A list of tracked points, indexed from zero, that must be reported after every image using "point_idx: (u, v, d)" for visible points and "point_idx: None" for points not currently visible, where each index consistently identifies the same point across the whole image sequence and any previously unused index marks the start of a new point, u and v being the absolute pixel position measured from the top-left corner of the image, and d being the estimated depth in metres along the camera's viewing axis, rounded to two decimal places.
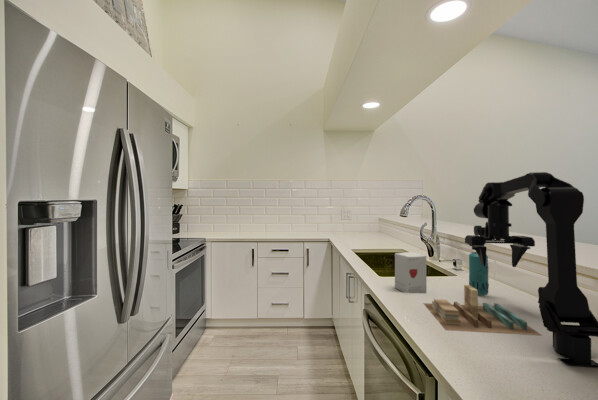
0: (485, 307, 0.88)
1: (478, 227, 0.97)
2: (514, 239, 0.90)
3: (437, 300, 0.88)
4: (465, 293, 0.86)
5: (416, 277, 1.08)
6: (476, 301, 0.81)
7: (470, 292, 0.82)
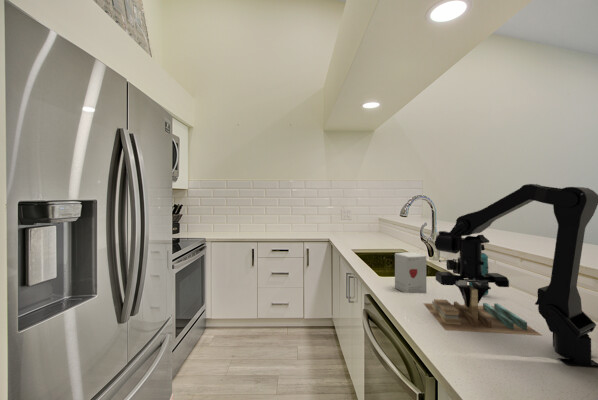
0: (485, 307, 0.88)
1: (450, 262, 0.90)
2: (487, 278, 0.83)
3: (437, 300, 0.88)
4: None
5: (416, 277, 1.08)
6: (476, 301, 0.81)
7: (470, 292, 0.82)
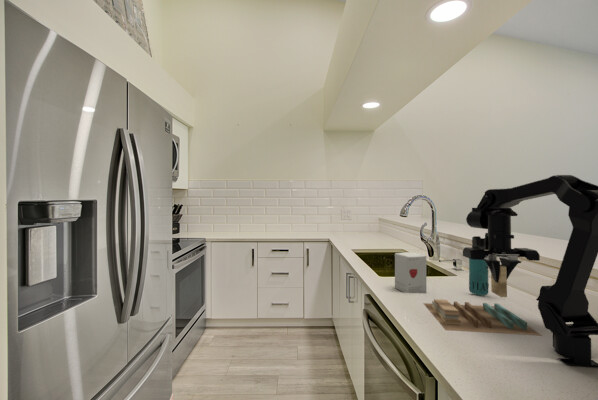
0: (485, 307, 0.88)
1: (477, 238, 0.88)
2: (517, 252, 0.82)
3: (437, 300, 0.88)
4: None
5: (416, 277, 1.08)
6: (505, 278, 0.81)
7: None
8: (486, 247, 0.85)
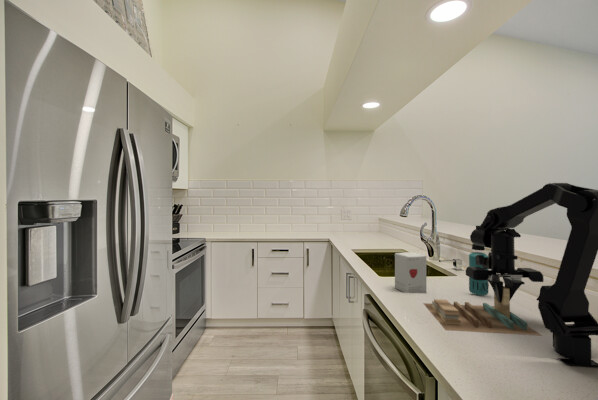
0: (485, 307, 0.88)
1: (480, 257, 0.88)
2: (520, 273, 0.81)
3: (437, 300, 0.88)
4: None
5: (416, 277, 1.08)
6: (508, 300, 0.81)
7: None
8: (489, 267, 0.85)
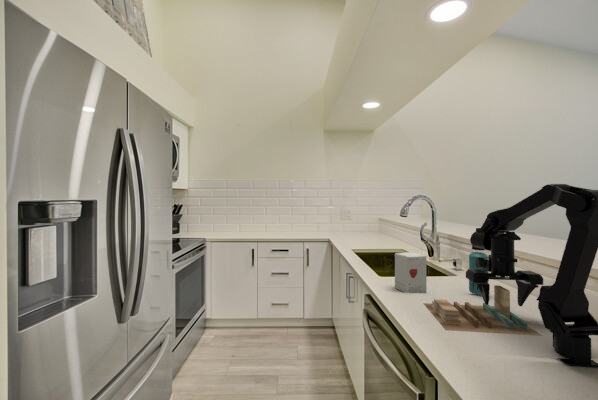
0: (485, 307, 0.88)
1: (480, 259, 0.88)
2: (520, 275, 0.81)
3: (437, 300, 0.88)
4: (495, 294, 0.85)
5: (416, 277, 1.08)
6: (508, 302, 0.81)
7: (502, 293, 0.82)
8: (489, 269, 0.85)
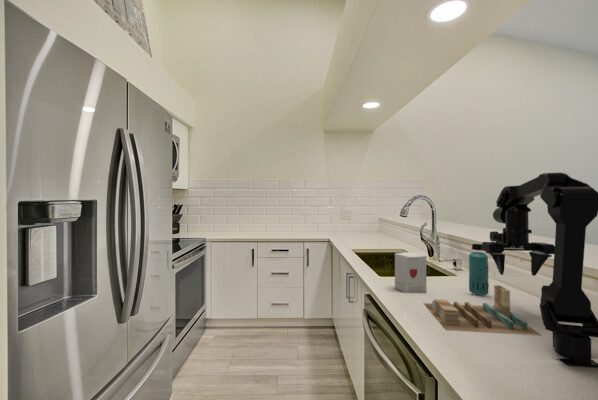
0: (485, 307, 0.88)
1: (495, 233, 0.92)
2: (534, 246, 0.85)
3: (437, 300, 0.88)
4: (495, 294, 0.85)
5: (416, 277, 1.08)
6: (508, 302, 0.81)
7: (502, 293, 0.82)
8: (504, 241, 0.89)
